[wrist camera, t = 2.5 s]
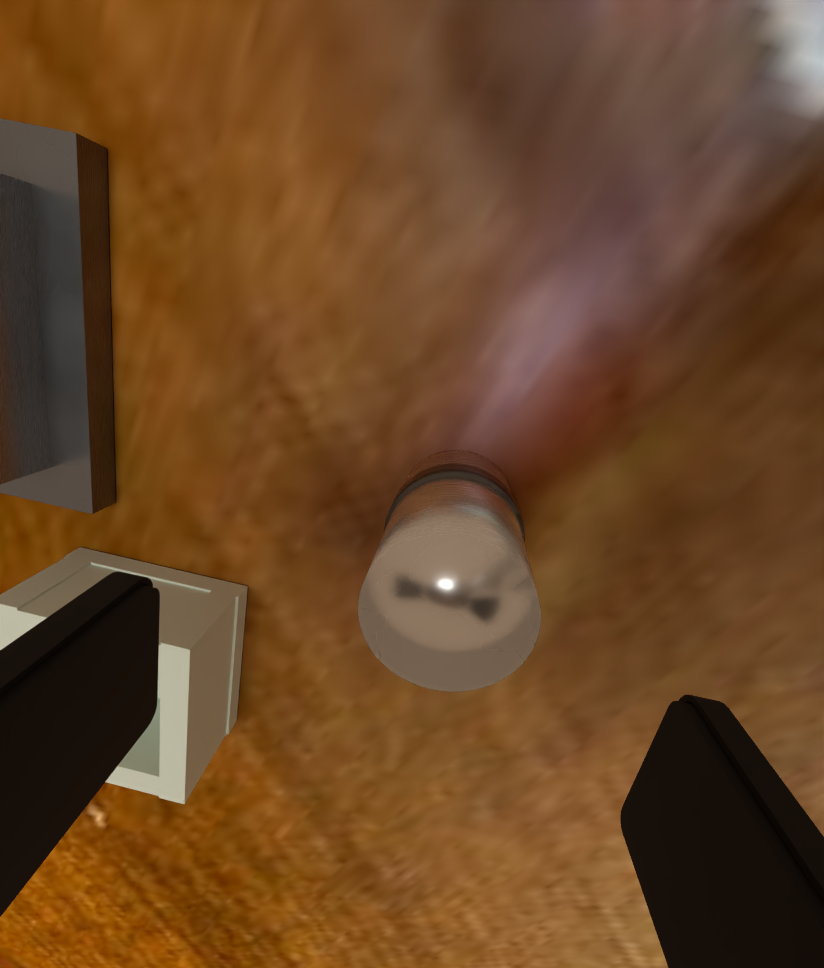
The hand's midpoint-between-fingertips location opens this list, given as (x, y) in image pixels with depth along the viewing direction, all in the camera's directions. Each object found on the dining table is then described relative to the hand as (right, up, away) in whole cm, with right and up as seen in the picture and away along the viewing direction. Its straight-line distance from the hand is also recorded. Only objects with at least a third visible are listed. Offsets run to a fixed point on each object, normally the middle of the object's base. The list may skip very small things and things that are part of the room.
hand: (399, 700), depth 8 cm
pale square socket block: (-11, -3, +12) cm, 16 cm away
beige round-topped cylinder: (+2, +3, +8) cm, 9 cm away
